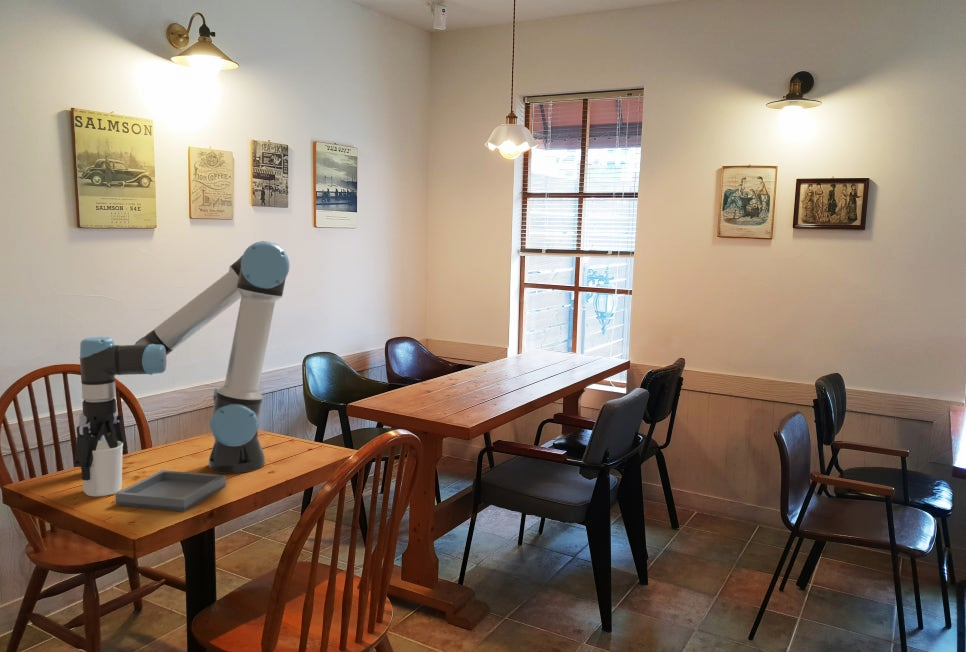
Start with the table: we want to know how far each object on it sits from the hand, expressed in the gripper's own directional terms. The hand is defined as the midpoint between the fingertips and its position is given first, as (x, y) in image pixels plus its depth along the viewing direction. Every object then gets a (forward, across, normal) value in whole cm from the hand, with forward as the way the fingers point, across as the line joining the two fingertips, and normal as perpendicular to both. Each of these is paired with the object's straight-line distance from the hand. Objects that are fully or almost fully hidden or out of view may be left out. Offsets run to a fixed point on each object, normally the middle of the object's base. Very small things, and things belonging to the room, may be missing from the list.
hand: (103, 485), depth 186 cm
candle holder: (+2, 0, 0) cm, 2 cm away
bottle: (+2, -12, -12) cm, 17 cm away
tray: (+1, -1, +19) cm, 19 cm away
